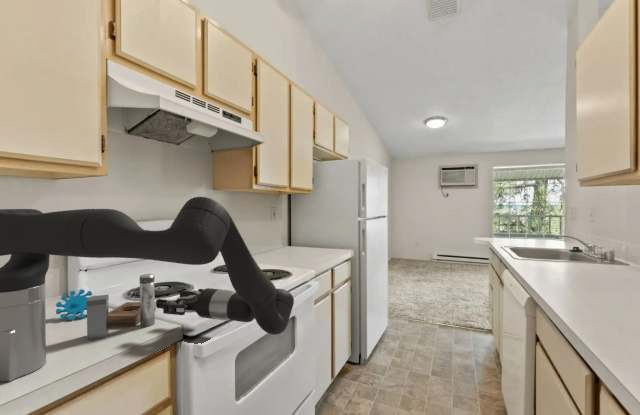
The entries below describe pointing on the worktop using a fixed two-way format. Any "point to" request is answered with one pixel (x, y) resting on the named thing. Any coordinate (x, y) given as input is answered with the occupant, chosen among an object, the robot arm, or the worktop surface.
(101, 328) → the square bit
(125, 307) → the socket plate
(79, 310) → the blue virus model
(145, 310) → the silver capped cylinder
